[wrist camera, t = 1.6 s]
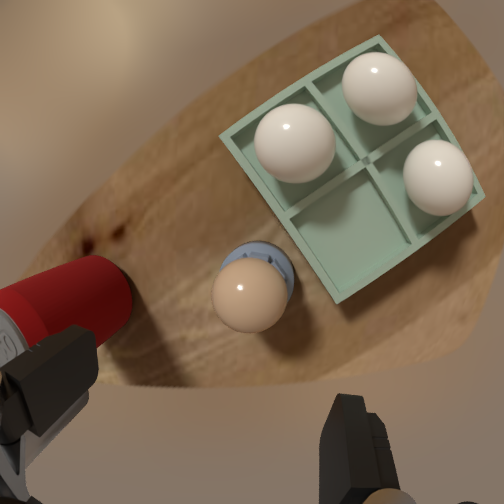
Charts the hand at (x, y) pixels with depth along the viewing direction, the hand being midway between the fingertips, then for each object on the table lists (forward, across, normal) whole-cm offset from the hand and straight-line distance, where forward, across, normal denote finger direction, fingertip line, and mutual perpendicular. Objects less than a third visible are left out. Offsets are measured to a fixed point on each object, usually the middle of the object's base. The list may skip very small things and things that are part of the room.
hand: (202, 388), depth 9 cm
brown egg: (+12, 0, 0) cm, 12 cm away
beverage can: (+14, +13, +4) cm, 19 cm away
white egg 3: (+12, -10, -8) cm, 17 cm away
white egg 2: (+12, -5, -13) cm, 18 cm away
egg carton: (+14, -5, -8) cm, 17 cm away
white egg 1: (+12, -1, -8) cm, 14 cm away
